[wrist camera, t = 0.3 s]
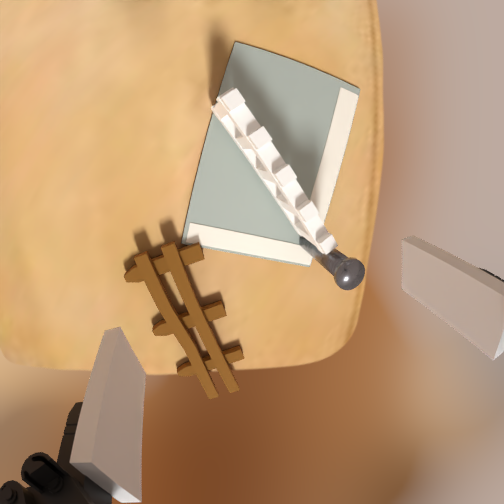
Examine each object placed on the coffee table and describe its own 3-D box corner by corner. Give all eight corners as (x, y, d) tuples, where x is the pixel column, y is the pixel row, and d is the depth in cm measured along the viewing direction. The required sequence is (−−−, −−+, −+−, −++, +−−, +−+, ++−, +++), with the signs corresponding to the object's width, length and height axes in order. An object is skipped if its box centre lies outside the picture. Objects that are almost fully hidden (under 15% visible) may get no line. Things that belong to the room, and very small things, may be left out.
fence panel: (306, 224, 37) (339, 247, 29) (296, 232, 37) (327, 257, 29) (221, 100, 30) (234, 85, 22) (209, 108, 30) (218, 95, 22)
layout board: (234, 42, 28) (235, 41, 28) (359, 89, 33) (360, 89, 33) (181, 242, 35) (181, 243, 35) (308, 266, 40) (309, 267, 40)
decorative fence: (194, 231, 35) (118, 259, 34) (195, 236, 33) (115, 265, 32) (252, 376, 45) (193, 394, 44) (255, 384, 43) (194, 403, 42)
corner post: (299, 225, 38) (343, 257, 27) (321, 230, 39) (369, 262, 28) (292, 249, 39) (332, 287, 28) (313, 253, 40) (357, 291, 29)
